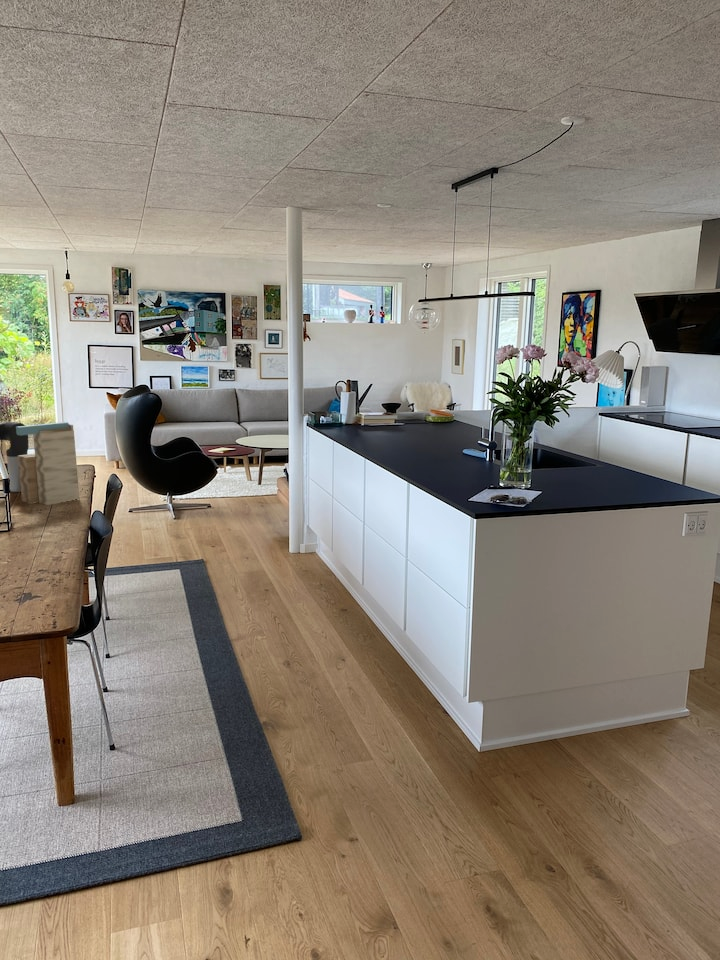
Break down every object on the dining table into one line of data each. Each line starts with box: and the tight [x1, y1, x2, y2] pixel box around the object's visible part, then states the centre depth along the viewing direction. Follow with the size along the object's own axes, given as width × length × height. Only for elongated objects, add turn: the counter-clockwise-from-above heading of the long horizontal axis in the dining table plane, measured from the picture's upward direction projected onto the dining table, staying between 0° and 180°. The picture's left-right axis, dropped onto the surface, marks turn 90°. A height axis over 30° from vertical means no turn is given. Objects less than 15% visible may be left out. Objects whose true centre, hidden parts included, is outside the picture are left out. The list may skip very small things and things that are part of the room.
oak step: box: [18, 453, 39, 505], centre depth 336 cm, size 8×14×21 cm, turn 138°
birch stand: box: [32, 423, 80, 506], centre depth 332 cm, size 8×15×34 cm, turn 138°
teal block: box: [16, 421, 69, 436], centre depth 325 cm, size 4×22×4 cm, turn 138°
